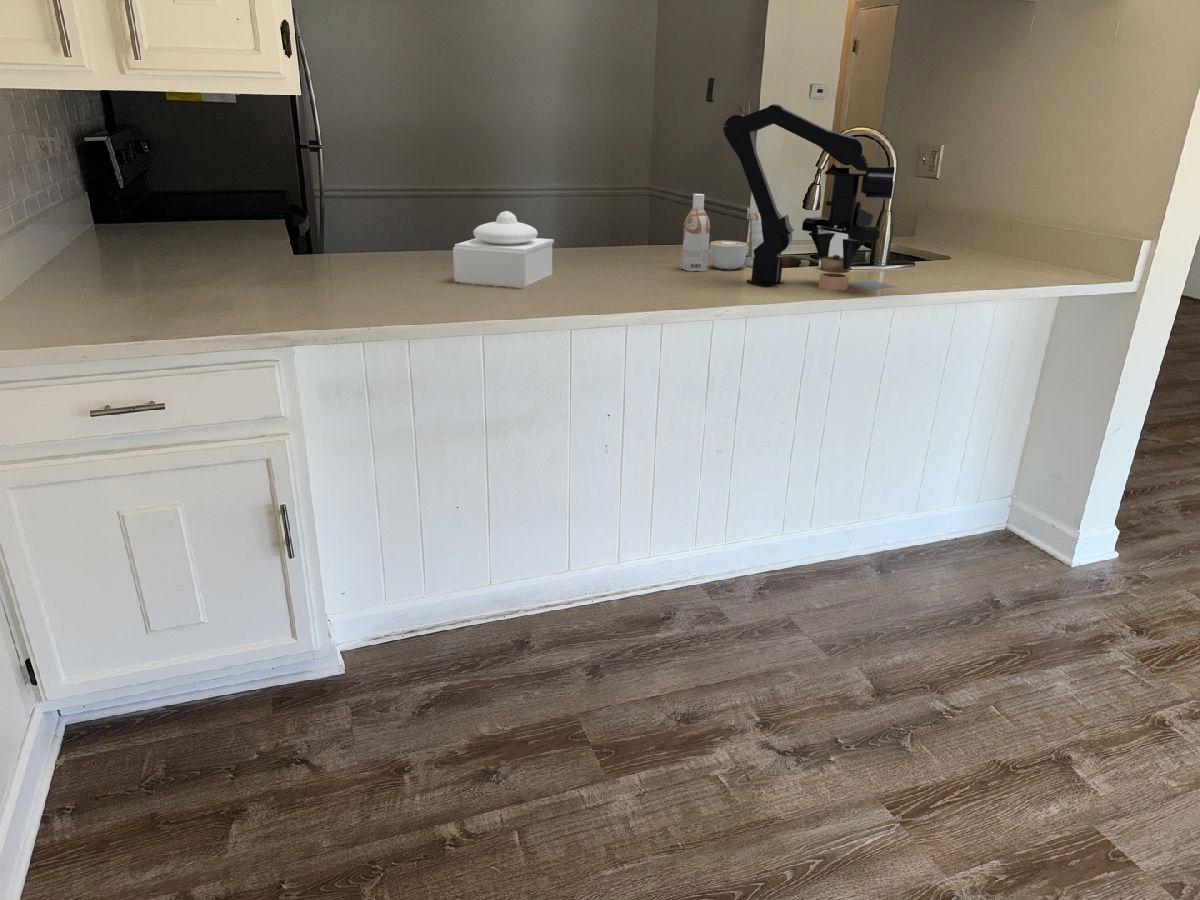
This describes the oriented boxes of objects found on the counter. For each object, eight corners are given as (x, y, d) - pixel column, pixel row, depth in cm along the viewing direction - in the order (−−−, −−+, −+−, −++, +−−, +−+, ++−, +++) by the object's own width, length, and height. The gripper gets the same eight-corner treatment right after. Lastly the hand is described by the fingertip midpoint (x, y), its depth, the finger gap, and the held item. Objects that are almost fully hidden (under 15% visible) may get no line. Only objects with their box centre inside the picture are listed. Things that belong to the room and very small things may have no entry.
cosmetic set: (757, 263, 230) (763, 191, 223) (776, 269, 222) (783, 194, 215) (674, 267, 221) (678, 192, 214) (691, 274, 213) (696, 196, 206)
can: (844, 271, 220) (850, 224, 216) (818, 270, 221) (824, 223, 217) (842, 267, 226) (848, 221, 222) (818, 266, 227) (823, 220, 223)
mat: (867, 291, 196) (867, 290, 196) (841, 285, 202) (841, 284, 202) (896, 288, 201) (897, 286, 201) (870, 282, 207) (870, 280, 207)
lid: (835, 273, 192) (837, 258, 191) (814, 269, 197) (815, 254, 196) (855, 271, 196) (857, 256, 194) (834, 267, 201) (836, 252, 200)
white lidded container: (454, 283, 196) (451, 212, 190) (487, 271, 212) (485, 204, 206) (525, 289, 191) (524, 216, 185) (553, 276, 207) (553, 208, 201)
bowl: (832, 292, 194) (834, 278, 193) (812, 287, 199) (814, 274, 198) (852, 290, 197) (854, 276, 196) (832, 285, 202) (833, 272, 201)
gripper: (901, 199, 187) (890, 270, 193) (838, 191, 202) (830, 258, 208) (866, 201, 182) (856, 274, 187) (804, 193, 196) (796, 261, 202)
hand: (835, 266), depth 196 cm, fingers closed on lid, 7 cm apart
